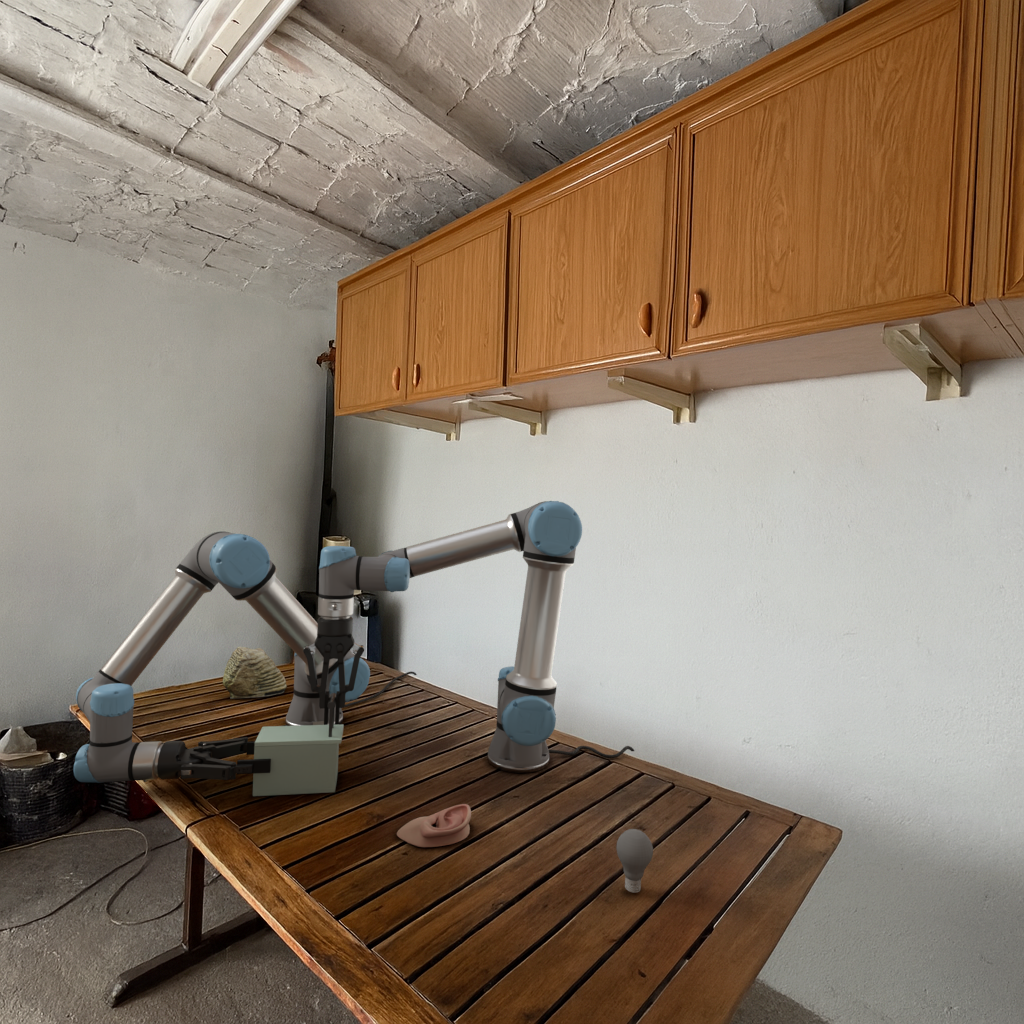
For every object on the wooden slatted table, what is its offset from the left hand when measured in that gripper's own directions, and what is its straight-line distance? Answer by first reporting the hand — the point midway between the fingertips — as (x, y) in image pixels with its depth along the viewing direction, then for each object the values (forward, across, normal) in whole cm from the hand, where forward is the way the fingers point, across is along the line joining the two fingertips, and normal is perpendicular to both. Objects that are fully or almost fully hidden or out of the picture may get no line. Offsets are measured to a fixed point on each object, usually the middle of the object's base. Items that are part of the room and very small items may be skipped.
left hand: (274, 756), depth 138 cm
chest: (+5, 0, -6) cm, 8 cm away
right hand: (+12, 0, +7) cm, 14 cm away
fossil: (-16, -65, -6) cm, 67 cm away
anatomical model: (+33, +24, -6) cm, 41 cm away
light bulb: (+64, +46, -6) cm, 79 cm away
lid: (+5, 0, +4) cm, 7 cm away
